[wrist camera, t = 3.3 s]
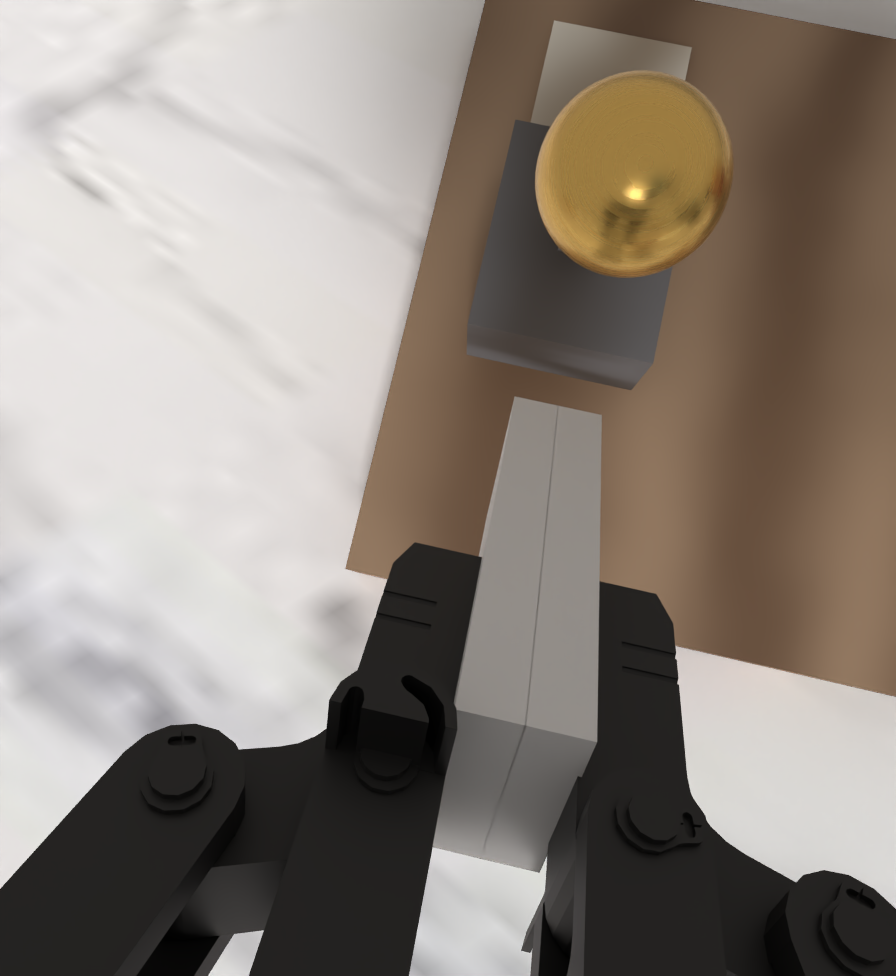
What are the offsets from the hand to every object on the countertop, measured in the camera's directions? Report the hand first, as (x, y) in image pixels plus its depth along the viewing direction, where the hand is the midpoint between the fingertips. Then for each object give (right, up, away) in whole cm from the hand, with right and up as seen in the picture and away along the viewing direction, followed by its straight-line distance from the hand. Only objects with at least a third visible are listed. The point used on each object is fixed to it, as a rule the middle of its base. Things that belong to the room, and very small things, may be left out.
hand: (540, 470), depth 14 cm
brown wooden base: (+9, +4, +13) cm, 16 cm away
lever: (+2, +6, +7) cm, 10 cm away
